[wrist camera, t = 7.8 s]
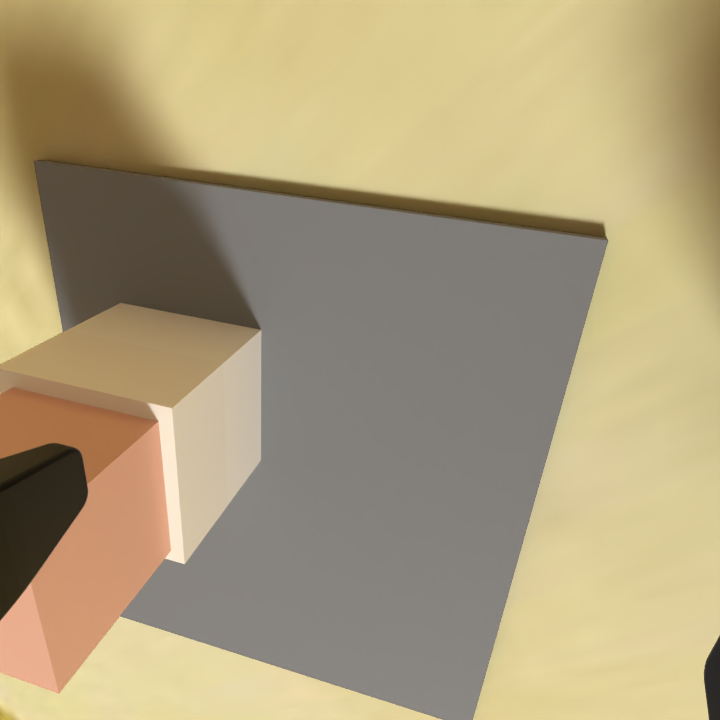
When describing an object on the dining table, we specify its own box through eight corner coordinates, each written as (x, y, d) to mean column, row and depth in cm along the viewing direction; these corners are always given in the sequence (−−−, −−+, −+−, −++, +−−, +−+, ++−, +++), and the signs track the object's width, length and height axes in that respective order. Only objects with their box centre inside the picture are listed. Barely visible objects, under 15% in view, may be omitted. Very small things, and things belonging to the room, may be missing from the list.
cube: (158, 421, 16) (20, 543, 12) (171, 550, 18) (58, 693, 14) (12, 387, 17) (-165, 487, 13) (41, 513, 19) (-102, 636, 15)
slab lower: (261, 329, 21) (222, 363, 18) (260, 460, 24) (227, 505, 21) (120, 302, 22) (66, 330, 20) (135, 429, 25) (89, 469, 22)
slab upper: (222, 363, 18) (172, 408, 16) (227, 505, 21) (184, 564, 18) (66, 330, 20) (-6, 367, 17) (89, 469, 22) (30, 519, 20)
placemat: (606, 237, 17) (608, 240, 16) (471, 720, 28) (470, 728, 27) (41, 159, 21) (33, 161, 21) (115, 607, 32) (110, 613, 31)
